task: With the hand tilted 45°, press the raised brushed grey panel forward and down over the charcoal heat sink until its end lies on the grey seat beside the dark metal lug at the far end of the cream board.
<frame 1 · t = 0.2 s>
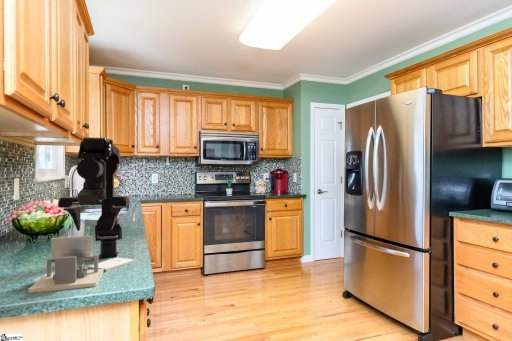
hand: (95, 230, 96), 14 cm above the worktop, tool pointing down, fingers open, 9 cm apart
external hard drive: (111, 267, 108), on the worktop
brushed grey panel: (72, 249, 95), point 9 cm above the worktop, hinge at 12.0°
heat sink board: (69, 281, 92), on the worktop
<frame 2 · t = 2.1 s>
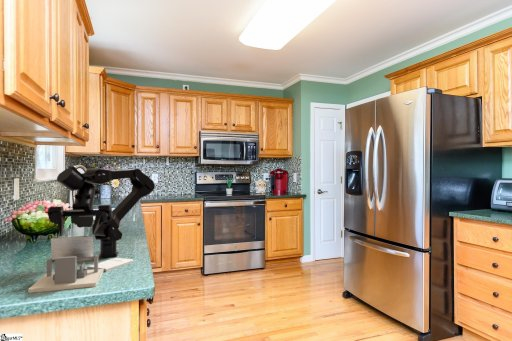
hand: (77, 234, 100), 12 cm above the worktop, tool tilted 45°, fingers open, 9 cm apart
nothing on the worktop moved.
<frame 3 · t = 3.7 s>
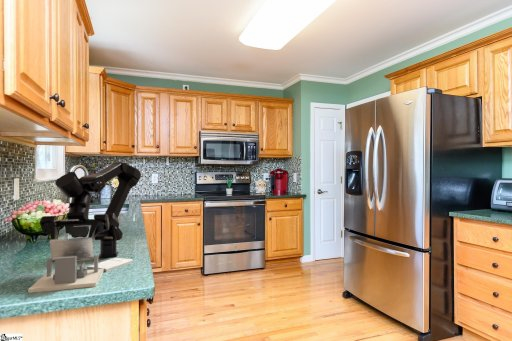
hand: (71, 246, 94), 10 cm above the worktop, tool tilted 45°
brushed grey panel: (72, 250, 95), point 8 cm above the worktop, hinge at 22.4°, touching gripper
everything else where it was.
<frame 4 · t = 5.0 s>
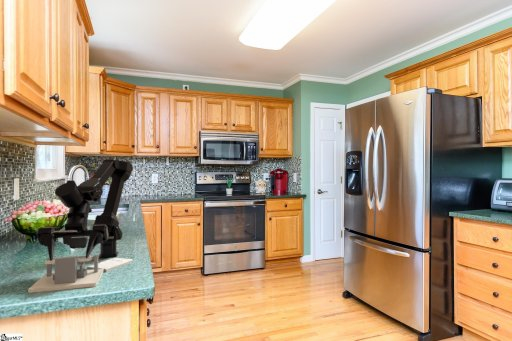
hand: (68, 258, 91), 7 cm above the worktop, tool tilted 45°
brushed grey panel: (70, 259, 93), point 6 cm above the worktop, hinge at 81.1°, touching gripper
everything else where it was.
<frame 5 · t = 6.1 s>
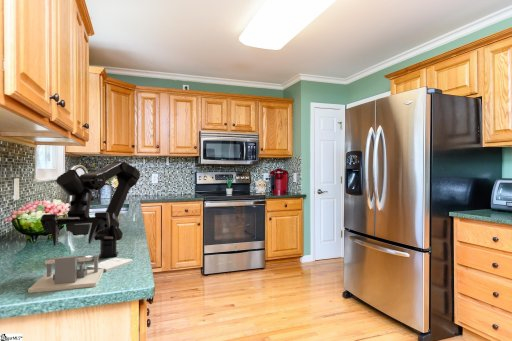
hand: (72, 244, 94), 10 cm above the worktop, tool tilted 45°, fingers open, 9 cm apart
brushed grey panel: (70, 259, 93), point 6 cm above the worktop, hinge at 80.6°
everything else where it was.
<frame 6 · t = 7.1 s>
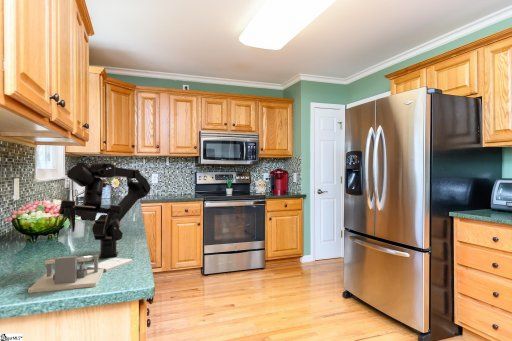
hand: (89, 232, 104), 12 cm above the worktop, tool tilted 35°, fingers open, 9 cm apart
nothing on the worktop moved.
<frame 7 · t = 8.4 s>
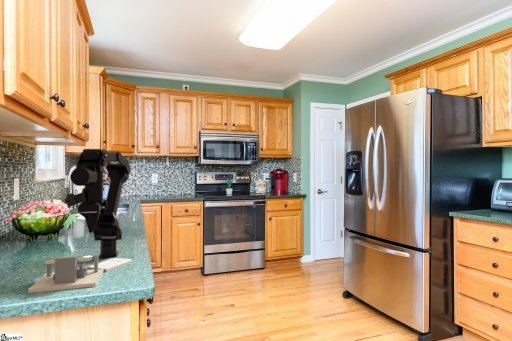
hand: (93, 230, 108), 12 cm above the worktop, tool pointing down, fingers open, 9 cm apart
nothing on the worktop moved.
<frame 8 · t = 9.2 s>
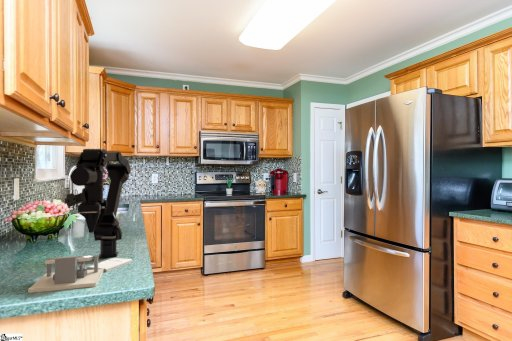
hand: (93, 230, 108), 12 cm above the worktop, tool pointing down, fingers open, 9 cm apart
nothing on the worktop moved.
at the end: brushed grey panel at +81° (first picture: +12°) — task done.
